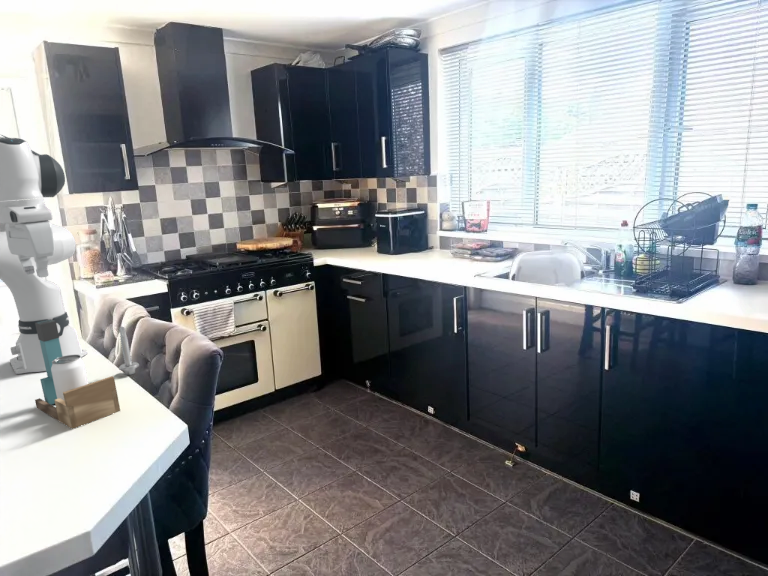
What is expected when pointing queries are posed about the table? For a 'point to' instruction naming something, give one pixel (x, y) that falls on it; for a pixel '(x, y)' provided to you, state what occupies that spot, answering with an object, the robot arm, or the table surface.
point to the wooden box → (84, 403)
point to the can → (68, 374)
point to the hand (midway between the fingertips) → (36, 275)
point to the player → (49, 355)
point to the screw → (126, 354)
